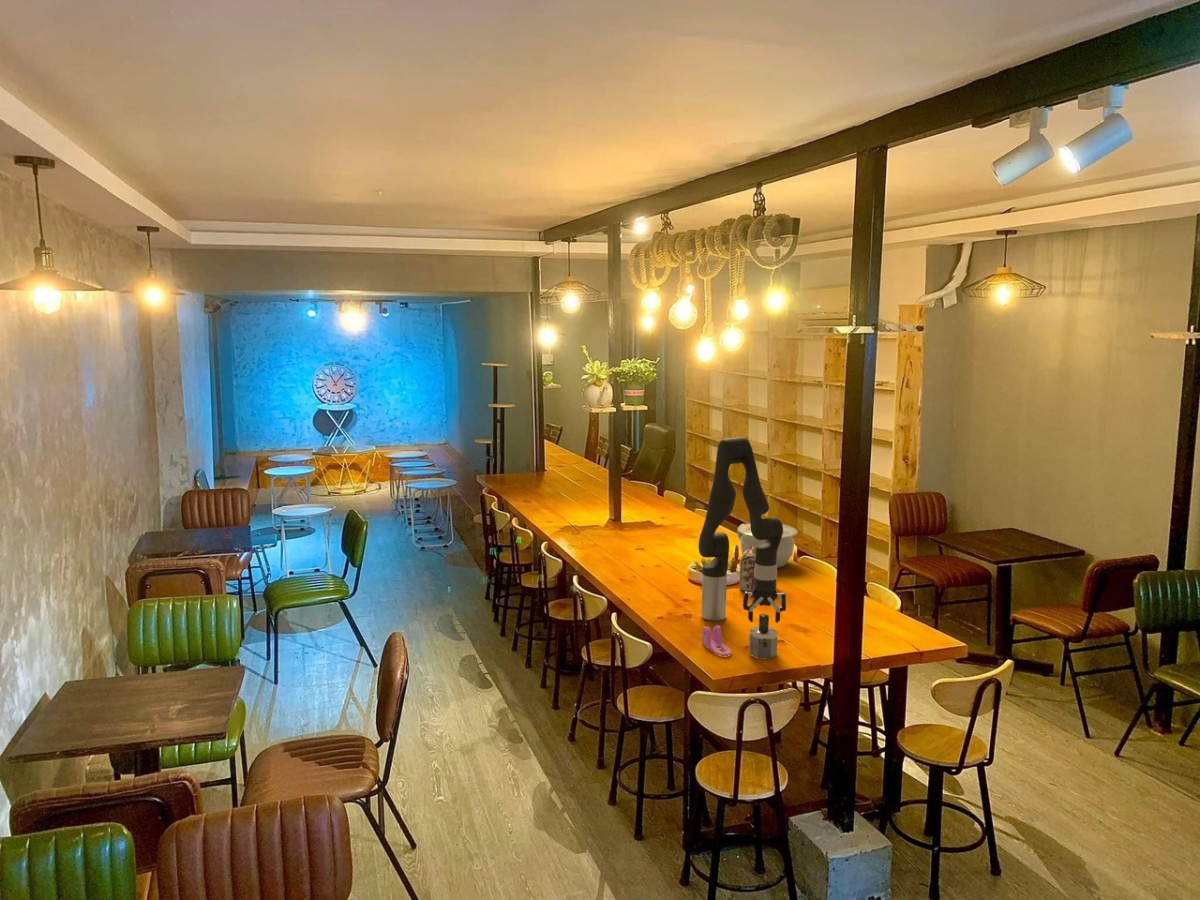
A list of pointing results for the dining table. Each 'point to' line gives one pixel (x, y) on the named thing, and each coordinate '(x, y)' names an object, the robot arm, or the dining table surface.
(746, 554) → the decorative jar
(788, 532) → the chamber pot
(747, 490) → the robot arm
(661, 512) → the dining table surface
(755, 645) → the pot
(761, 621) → the lid
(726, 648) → the bracket
